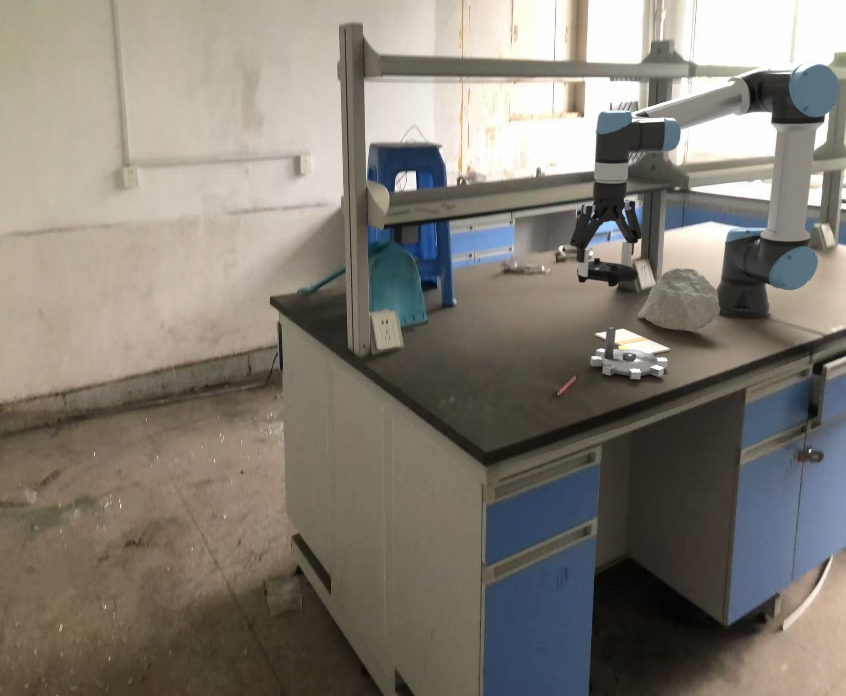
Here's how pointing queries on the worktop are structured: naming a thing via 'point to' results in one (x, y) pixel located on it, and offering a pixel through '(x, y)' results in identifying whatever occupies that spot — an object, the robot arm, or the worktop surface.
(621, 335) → the marked pad
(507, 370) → the worktop surface
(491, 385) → the worktop surface
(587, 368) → the worktop surface
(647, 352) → the sprocket
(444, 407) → the worktop surface
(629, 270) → the gaming controller
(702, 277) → the grey rock
